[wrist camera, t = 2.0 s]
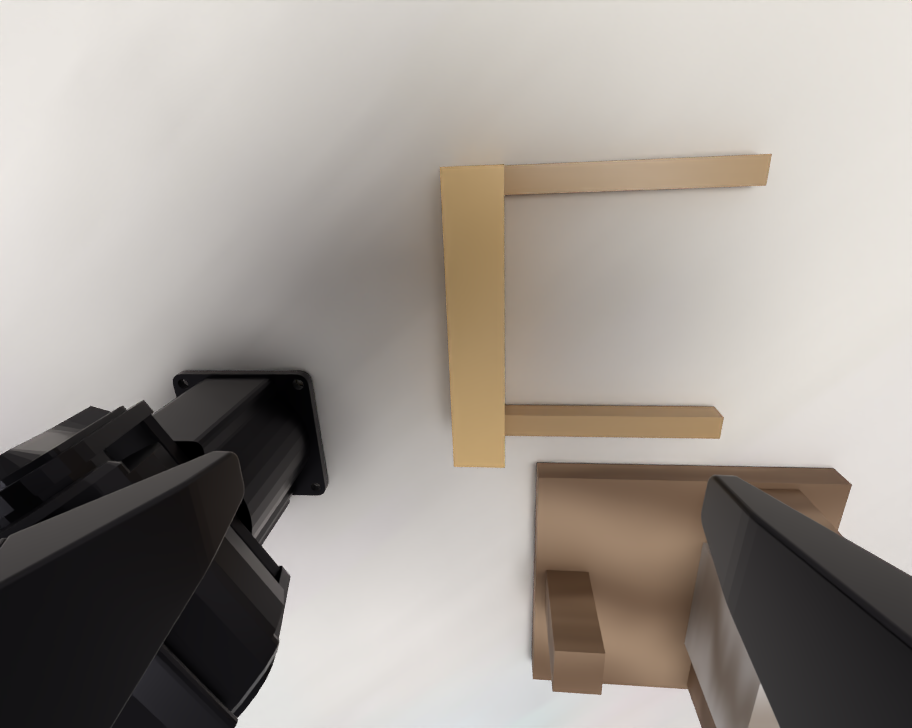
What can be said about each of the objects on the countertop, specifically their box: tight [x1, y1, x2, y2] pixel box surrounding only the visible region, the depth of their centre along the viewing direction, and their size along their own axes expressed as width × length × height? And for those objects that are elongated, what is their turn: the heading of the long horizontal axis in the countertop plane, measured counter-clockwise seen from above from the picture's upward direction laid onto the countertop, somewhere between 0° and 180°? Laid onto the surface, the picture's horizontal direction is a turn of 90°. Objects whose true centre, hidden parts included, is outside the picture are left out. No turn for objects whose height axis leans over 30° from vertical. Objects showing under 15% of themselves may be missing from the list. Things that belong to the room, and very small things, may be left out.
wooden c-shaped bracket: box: [440, 154, 772, 468], centre depth 18 cm, size 11×11×4 cm
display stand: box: [532, 463, 852, 728], centre depth 21 cm, size 13×13×7 cm
